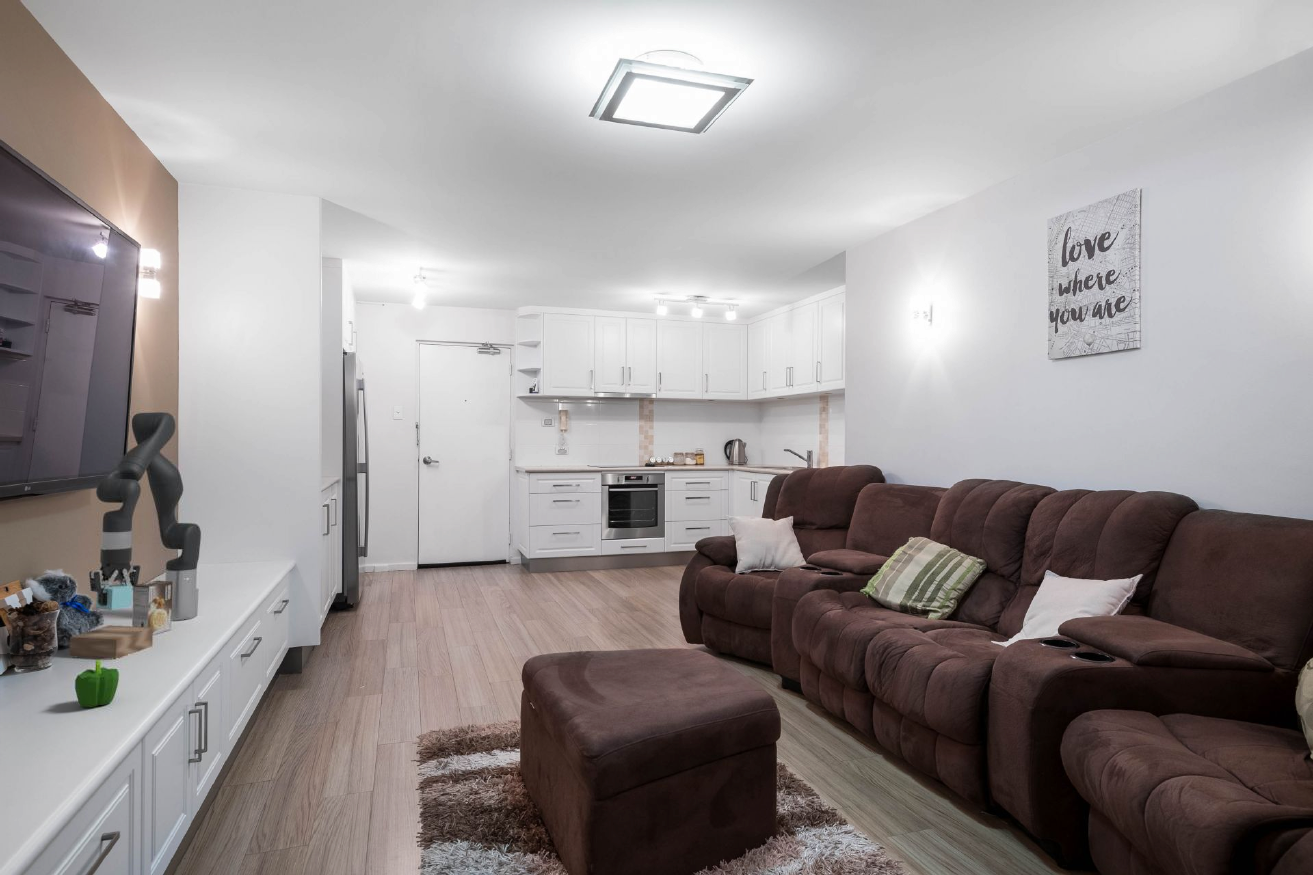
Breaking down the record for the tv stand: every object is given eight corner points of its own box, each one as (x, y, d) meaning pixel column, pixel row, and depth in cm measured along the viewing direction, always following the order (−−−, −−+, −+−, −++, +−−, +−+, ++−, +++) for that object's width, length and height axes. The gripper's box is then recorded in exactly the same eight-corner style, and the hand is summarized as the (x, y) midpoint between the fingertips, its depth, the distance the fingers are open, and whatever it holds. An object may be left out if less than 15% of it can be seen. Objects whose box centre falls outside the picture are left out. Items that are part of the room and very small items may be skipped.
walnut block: (108, 644, 226) (109, 625, 227) (152, 647, 226) (153, 627, 226) (69, 657, 212) (70, 636, 213) (115, 660, 212) (116, 639, 212)
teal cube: (116, 604, 223) (117, 584, 223) (131, 606, 221) (132, 585, 221) (96, 608, 217) (97, 587, 217) (111, 610, 215) (112, 589, 216)
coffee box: (155, 628, 246) (157, 579, 246) (171, 629, 245) (173, 581, 245) (130, 635, 237) (132, 584, 237) (147, 636, 236) (149, 586, 236)
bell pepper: (109, 709, 174) (111, 666, 174) (68, 711, 172) (70, 668, 172) (124, 697, 182) (125, 656, 182) (84, 699, 180) (86, 658, 180)
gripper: (130, 542, 227) (127, 597, 227) (82, 548, 214) (79, 606, 213) (149, 544, 225) (146, 599, 225) (101, 550, 212) (99, 609, 211)
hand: (114, 603), depth 219 cm, fingers closed on teal cube, 6 cm apart
